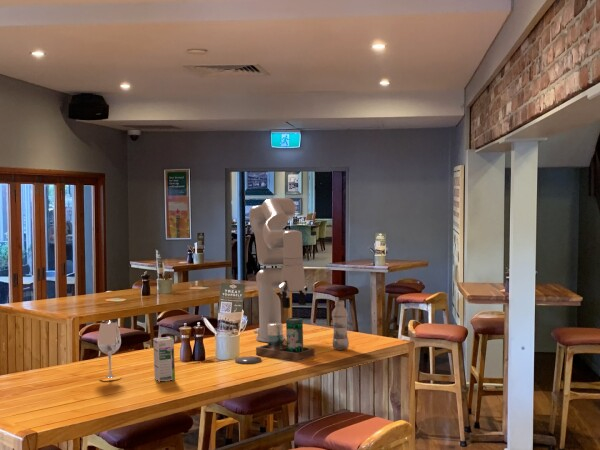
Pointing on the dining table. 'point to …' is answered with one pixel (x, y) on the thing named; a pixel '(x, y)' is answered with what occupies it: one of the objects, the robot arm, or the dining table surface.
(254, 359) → the slate coaster
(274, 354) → the brown wooden tray
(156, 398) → the dining table surface
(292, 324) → the can
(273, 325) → the can
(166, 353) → the syrup box
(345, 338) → the plastic bottle
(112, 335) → the wineglass
